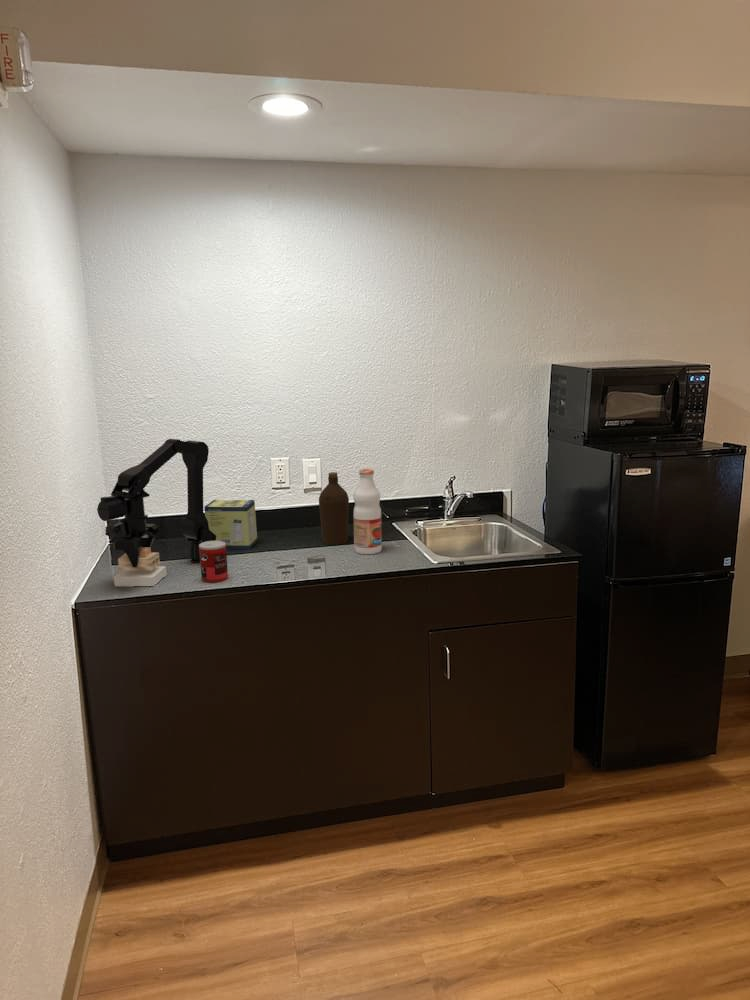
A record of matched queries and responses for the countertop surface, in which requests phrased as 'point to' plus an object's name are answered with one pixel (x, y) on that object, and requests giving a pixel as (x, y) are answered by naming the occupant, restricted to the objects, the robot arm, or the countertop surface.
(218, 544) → the canned food
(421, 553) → the countertop surface
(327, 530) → the olive oil
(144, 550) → the block
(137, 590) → the countertop surface
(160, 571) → the white flat block
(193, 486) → the robot arm
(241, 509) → the protein box
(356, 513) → the fruit juice
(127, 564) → the pallet
